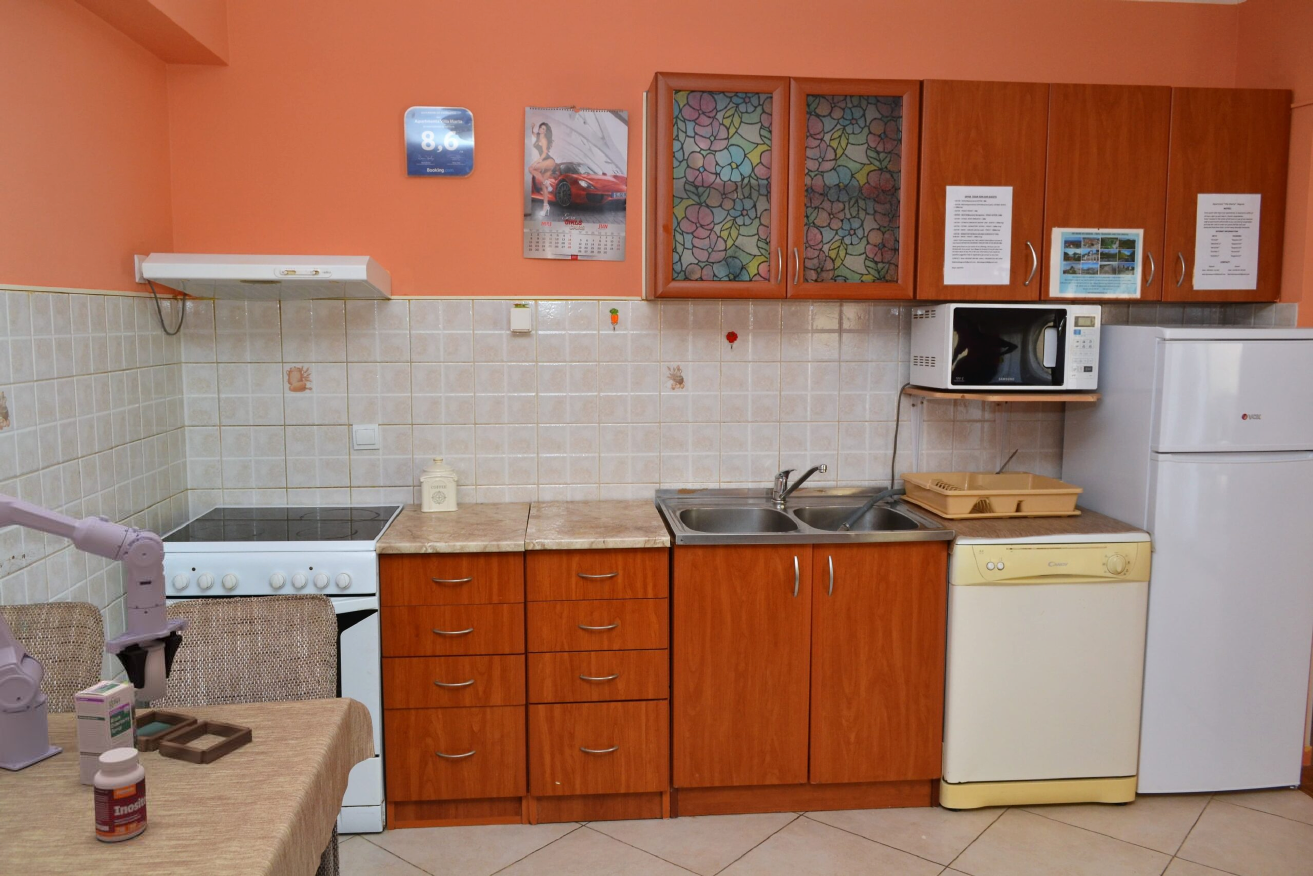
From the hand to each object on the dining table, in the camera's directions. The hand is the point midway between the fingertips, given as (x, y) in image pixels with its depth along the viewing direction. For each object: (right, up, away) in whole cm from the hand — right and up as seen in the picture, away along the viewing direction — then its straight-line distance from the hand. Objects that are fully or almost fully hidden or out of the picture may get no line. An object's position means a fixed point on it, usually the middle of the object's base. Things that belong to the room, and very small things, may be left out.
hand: (150, 682), depth 161 cm
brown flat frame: (+5, -10, -1) cm, 11 cm away
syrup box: (+1, -11, -14) cm, 18 cm away
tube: (0, -2, 0) cm, 2 cm away
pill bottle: (+12, -13, -30) cm, 35 cm away
